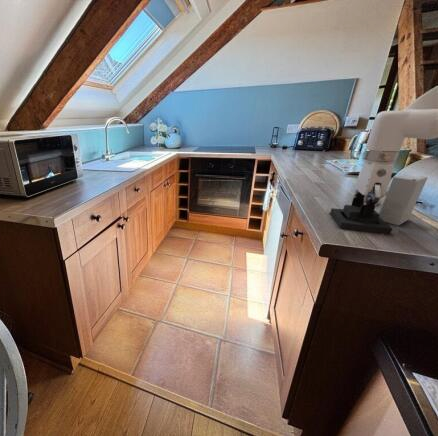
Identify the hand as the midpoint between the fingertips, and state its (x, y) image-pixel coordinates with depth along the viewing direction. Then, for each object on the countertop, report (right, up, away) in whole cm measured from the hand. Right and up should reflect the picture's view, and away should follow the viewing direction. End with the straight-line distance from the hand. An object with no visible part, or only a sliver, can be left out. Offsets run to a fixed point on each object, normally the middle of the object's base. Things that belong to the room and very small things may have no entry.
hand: (360, 212), depth 78 cm
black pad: (0, -1, +1) cm, 1 cm away
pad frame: (0, -3, +1) cm, 4 cm away
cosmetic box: (+13, -3, +3) cm, 14 cm away
